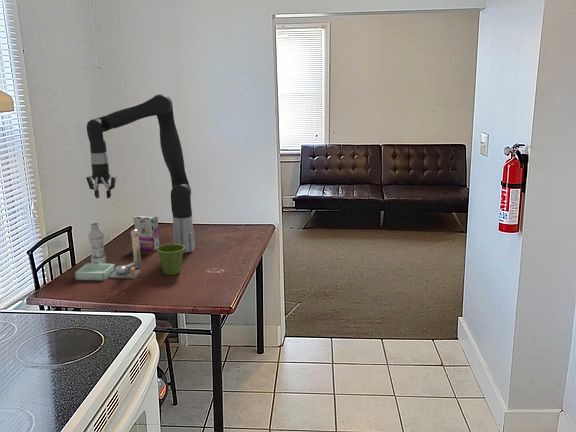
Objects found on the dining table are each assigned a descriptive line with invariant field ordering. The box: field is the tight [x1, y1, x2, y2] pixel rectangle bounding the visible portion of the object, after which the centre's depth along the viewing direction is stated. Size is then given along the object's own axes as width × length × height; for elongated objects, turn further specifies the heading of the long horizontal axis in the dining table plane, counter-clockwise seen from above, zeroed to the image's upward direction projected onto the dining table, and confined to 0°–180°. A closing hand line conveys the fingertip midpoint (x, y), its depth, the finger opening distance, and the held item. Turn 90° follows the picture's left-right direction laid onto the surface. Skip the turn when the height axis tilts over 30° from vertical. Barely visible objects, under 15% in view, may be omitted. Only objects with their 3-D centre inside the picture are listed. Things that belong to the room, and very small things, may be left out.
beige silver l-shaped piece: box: [115, 228, 142, 274], centre depth 236 cm, size 13×5×17 cm, turn 148°
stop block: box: [131, 267, 136, 275], centre depth 233 cm, size 2×3×3 cm, turn 18°
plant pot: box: [156, 243, 185, 276], centre depth 236 cm, size 12×12×11 cm
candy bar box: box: [133, 214, 161, 252], centre depth 269 cm, size 11×5×16 cm, turn 68°
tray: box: [74, 262, 116, 281], centre depth 234 cm, size 13×12×3 cm
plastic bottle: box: [87, 222, 108, 264], centre depth 242 cm, size 6×7×20 cm
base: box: [108, 269, 142, 279], centre depth 235 cm, size 11×8×1 cm
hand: (103, 197), depth 258 cm, fingers open, 4 cm apart
